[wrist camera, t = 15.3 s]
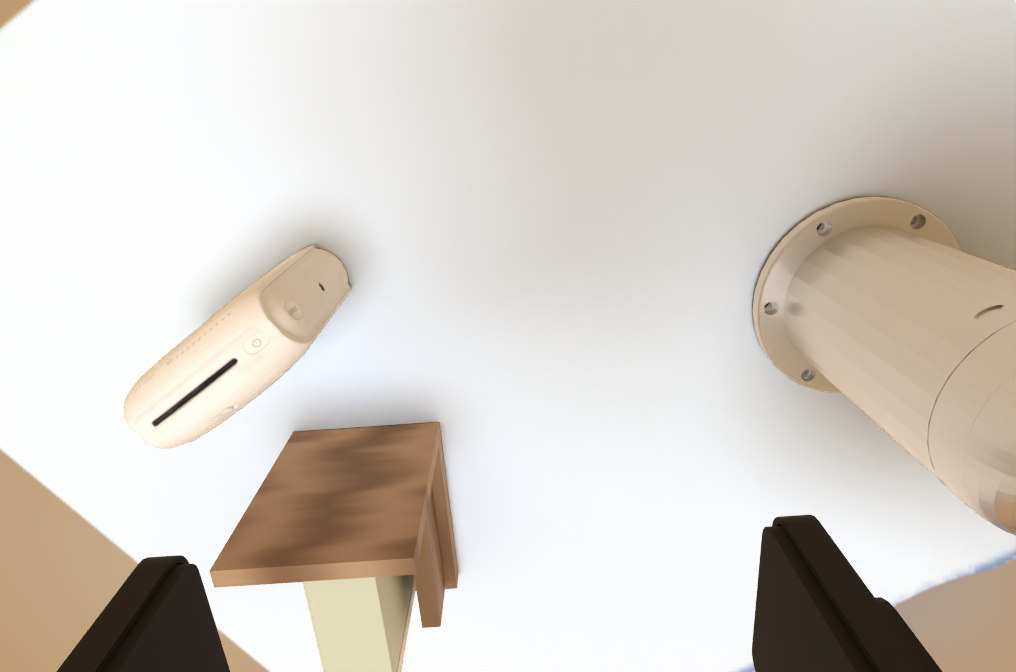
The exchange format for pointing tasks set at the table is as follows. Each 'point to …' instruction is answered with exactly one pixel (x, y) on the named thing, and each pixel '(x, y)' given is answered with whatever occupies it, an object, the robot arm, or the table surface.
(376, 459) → the shelf
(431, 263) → the table surface
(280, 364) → the photo printer
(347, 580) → the beige rectangular block
